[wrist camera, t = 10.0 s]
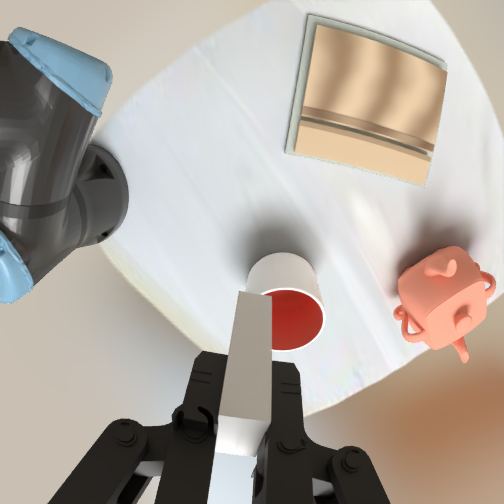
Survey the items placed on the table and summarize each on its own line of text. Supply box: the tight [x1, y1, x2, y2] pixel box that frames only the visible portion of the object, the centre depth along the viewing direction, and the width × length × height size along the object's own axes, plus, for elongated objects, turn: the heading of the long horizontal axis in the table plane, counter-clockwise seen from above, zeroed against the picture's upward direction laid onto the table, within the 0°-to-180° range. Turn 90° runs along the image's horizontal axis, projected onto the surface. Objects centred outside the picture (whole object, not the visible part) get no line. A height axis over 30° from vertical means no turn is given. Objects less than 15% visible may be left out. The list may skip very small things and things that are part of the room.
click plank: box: [301, 25, 447, 153], centre depth 29 cm, size 18×12×1 cm, turn 81°
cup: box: [246, 252, 326, 352], centre depth 39 cm, size 10×10×10 cm
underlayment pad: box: [285, 15, 447, 188], centre depth 30 cm, size 20×19×2 cm
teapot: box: [394, 246, 496, 363], centre depth 36 cm, size 15×17×13 cm
